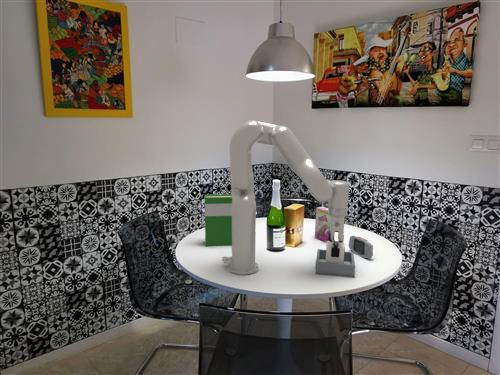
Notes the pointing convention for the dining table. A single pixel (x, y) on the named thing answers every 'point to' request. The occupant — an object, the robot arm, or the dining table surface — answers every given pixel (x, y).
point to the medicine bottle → (341, 253)
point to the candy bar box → (322, 224)
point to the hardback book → (218, 220)
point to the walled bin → (335, 265)
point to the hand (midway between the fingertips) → (335, 253)
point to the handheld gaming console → (361, 247)
